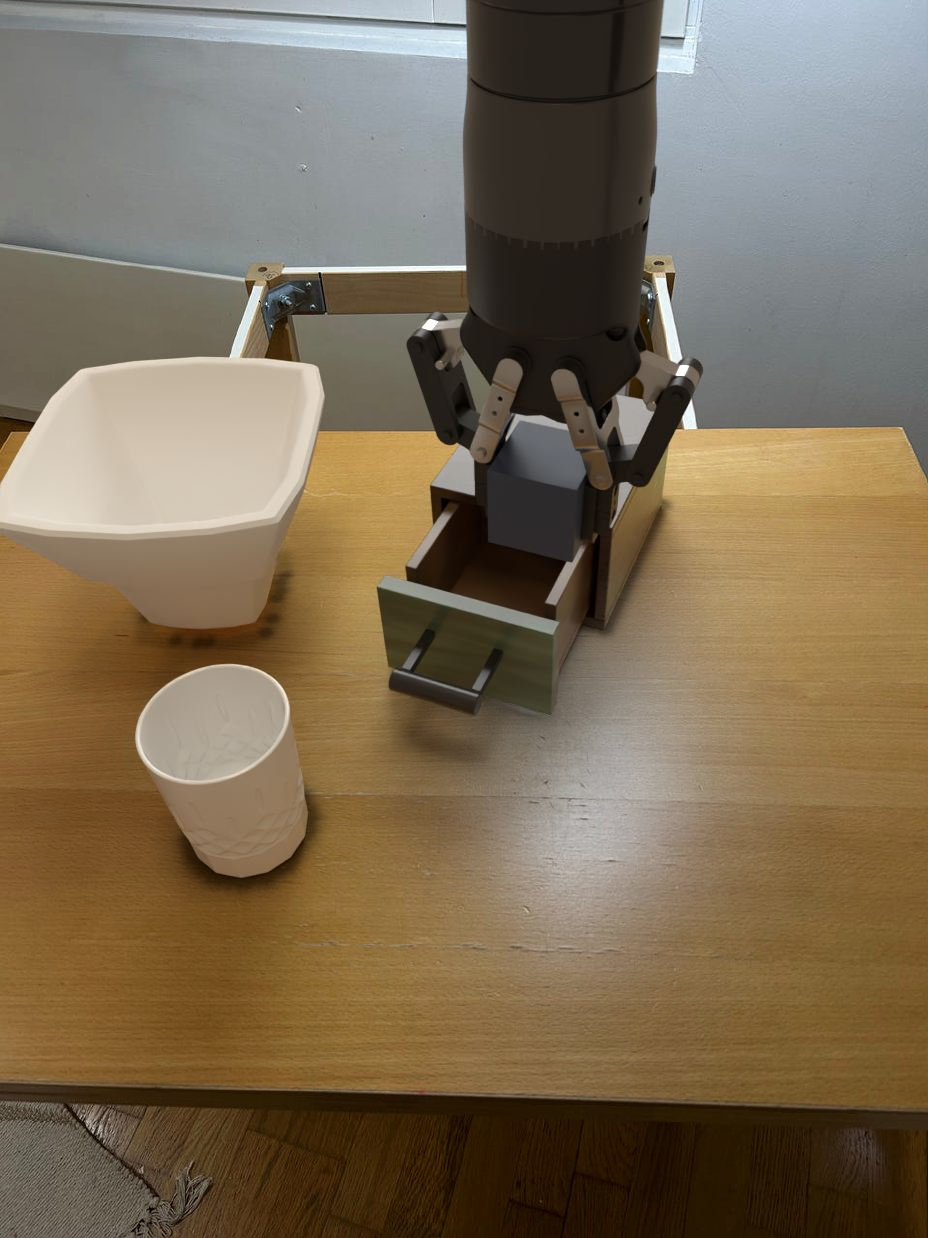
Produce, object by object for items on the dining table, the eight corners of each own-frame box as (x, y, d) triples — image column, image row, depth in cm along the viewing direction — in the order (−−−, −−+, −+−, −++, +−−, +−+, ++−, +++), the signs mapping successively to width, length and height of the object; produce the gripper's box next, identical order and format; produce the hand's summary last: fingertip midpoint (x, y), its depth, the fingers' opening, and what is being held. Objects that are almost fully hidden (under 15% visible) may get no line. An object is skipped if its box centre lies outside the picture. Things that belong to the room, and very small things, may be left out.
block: (598, 509, 53) (605, 437, 49) (572, 563, 50) (577, 490, 46) (518, 490, 54) (519, 419, 51) (487, 541, 51) (486, 470, 48)
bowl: (357, 509, 78) (334, 352, 68) (326, 696, 64) (291, 534, 54) (127, 512, 79) (70, 357, 69) (47, 697, 65) (-37, 538, 55)
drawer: (522, 776, 58) (522, 697, 53) (353, 721, 62) (337, 641, 56) (615, 578, 70) (623, 497, 65) (468, 541, 73) (464, 461, 68)
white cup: (235, 755, 61) (197, 646, 54) (343, 799, 59) (318, 690, 52) (155, 856, 56) (102, 751, 49) (269, 909, 54) (230, 806, 47)
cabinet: (604, 630, 68) (612, 528, 61) (437, 585, 71) (429, 485, 65) (661, 504, 77) (674, 404, 70) (511, 470, 81) (510, 373, 74)
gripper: (356, 207, 39) (391, 533, 51) (713, 260, 35) (660, 601, 47) (431, 140, 44) (447, 453, 56) (754, 179, 40) (696, 508, 52)
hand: (545, 519), depth 52 cm, fingers closed on block, 4 cm apart
